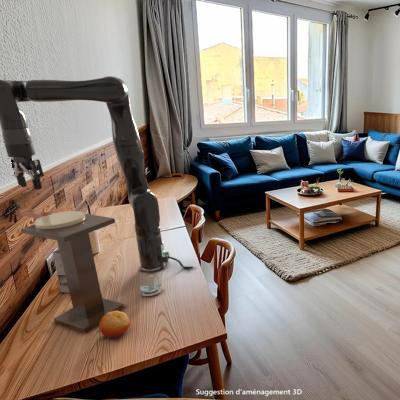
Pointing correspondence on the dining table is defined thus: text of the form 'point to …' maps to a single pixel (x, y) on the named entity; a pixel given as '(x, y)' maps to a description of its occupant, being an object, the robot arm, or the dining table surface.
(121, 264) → the dining table surface
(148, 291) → the clear glass cup
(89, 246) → the shelf stand
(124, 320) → the fruit
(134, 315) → the dining table surface
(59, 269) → the coffee box
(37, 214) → the table tennis paddle
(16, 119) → the robot arm
